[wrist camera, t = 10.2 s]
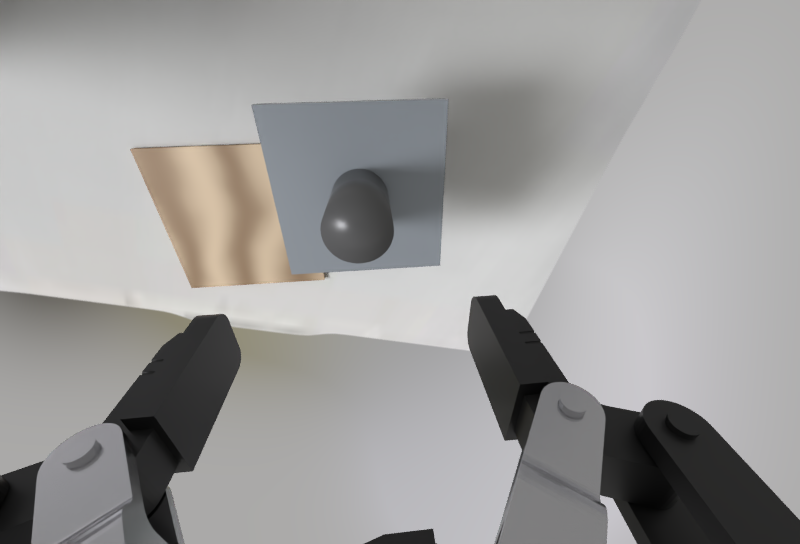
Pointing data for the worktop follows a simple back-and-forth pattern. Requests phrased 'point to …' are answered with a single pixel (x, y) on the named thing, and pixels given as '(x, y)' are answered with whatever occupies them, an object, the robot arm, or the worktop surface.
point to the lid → (356, 181)
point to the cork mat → (219, 213)
